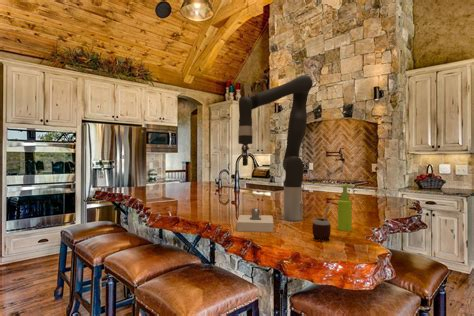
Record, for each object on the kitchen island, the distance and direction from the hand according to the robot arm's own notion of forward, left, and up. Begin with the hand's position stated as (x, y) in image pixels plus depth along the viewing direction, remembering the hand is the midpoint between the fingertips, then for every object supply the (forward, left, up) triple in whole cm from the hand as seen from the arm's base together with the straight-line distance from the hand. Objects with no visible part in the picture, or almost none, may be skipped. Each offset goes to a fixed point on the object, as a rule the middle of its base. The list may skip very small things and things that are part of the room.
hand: (245, 165), depth 156 cm
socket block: (-6, +19, -28) cm, 34 cm away
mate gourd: (-33, +36, -28) cm, 56 cm away
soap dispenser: (-47, +19, -28) cm, 58 cm away
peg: (-6, +19, -28) cm, 34 cm away
